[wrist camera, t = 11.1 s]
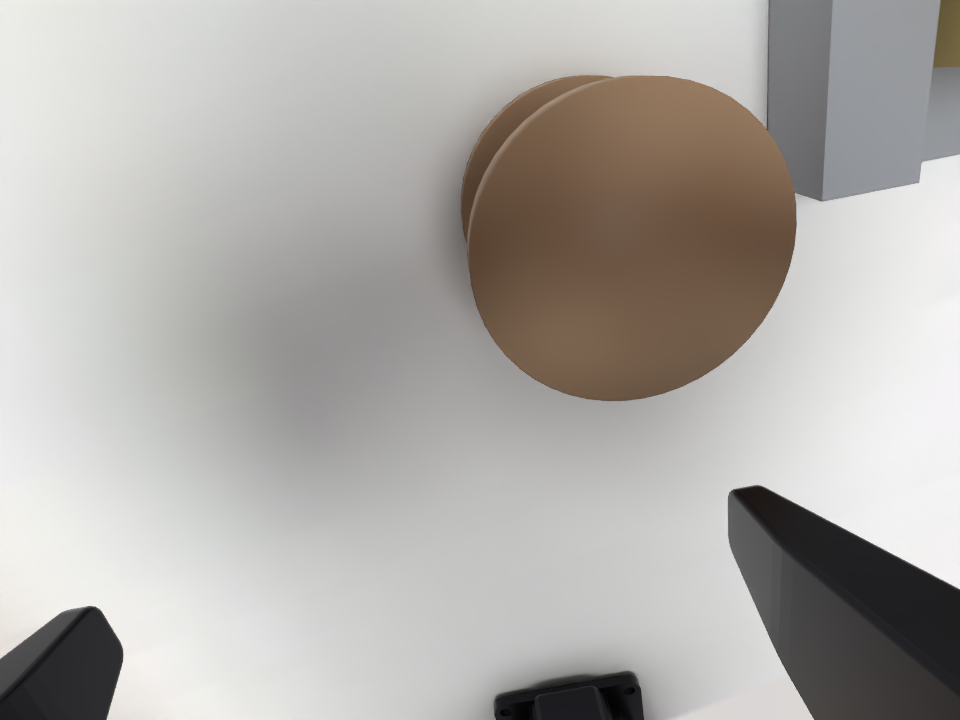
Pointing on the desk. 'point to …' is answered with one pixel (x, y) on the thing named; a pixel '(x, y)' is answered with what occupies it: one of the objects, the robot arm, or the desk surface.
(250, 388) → the desk surface
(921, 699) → the robot arm
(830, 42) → the notch board
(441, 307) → the desk surface
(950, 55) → the tan tab
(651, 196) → the bobbin
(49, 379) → the desk surface
